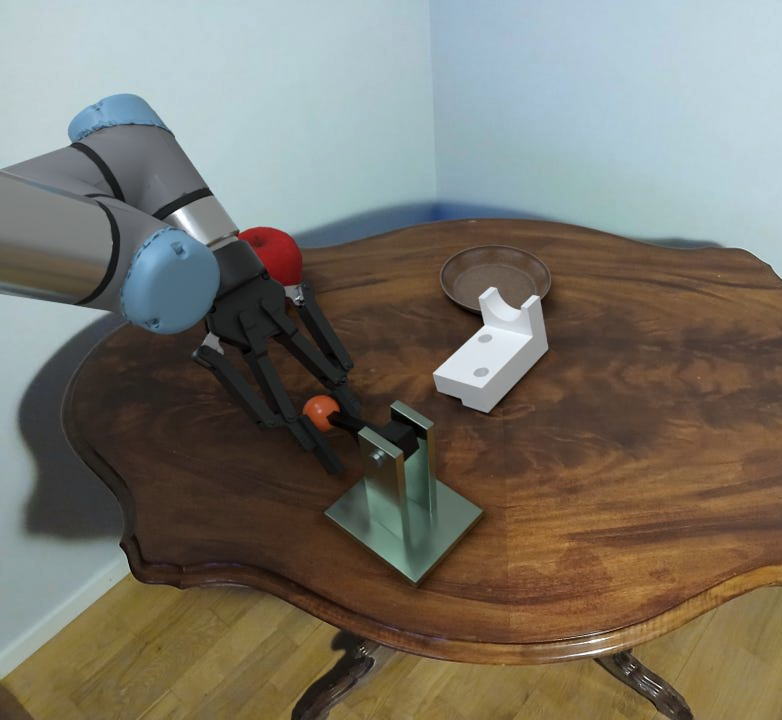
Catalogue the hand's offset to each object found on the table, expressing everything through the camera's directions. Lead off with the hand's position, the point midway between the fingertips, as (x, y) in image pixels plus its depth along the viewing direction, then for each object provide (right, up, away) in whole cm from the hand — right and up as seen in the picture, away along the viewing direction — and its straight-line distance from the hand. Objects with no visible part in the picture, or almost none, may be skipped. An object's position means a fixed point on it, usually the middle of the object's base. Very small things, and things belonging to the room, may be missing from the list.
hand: (353, 457), depth 72 cm
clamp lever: (+1, +2, -4) cm, 4 cm away
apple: (-15, +17, +24) cm, 33 cm away
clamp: (+5, -6, 0) cm, 8 cm away
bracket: (+14, +8, +16) cm, 22 cm away
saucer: (+15, +19, +26) cm, 35 cm away
